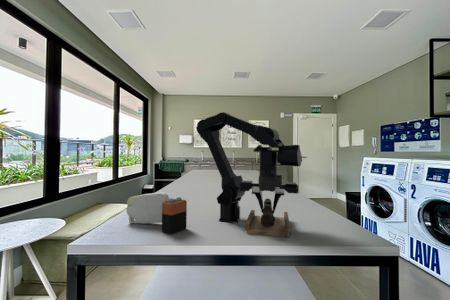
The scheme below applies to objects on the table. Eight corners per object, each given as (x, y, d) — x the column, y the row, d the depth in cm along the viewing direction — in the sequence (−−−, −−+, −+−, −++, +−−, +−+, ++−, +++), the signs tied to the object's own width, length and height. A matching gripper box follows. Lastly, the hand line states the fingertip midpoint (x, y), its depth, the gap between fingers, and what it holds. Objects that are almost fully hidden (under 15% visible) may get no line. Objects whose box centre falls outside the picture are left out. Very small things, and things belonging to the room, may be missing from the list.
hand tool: (274, 228, 65) (274, 212, 65) (260, 227, 66) (260, 211, 66) (275, 210, 84) (275, 197, 84) (264, 209, 85) (264, 197, 84)
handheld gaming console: (133, 227, 80) (172, 224, 77) (128, 230, 77) (168, 227, 74) (129, 195, 80) (168, 191, 77) (124, 197, 77) (164, 192, 74)
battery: (161, 231, 69) (161, 199, 69) (177, 226, 75) (177, 195, 75) (170, 234, 67) (171, 200, 67) (187, 228, 72) (187, 197, 72)
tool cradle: (245, 233, 68) (245, 223, 68) (251, 217, 85) (251, 209, 85) (289, 237, 65) (289, 226, 65) (287, 220, 82) (287, 212, 82)
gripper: (236, 166, 70) (235, 217, 69) (300, 167, 65) (299, 222, 65) (241, 164, 80) (241, 208, 80) (296, 165, 76) (296, 212, 76)
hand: (267, 212), depth 75 cm, fingers closed on hand tool, 3 cm apart
